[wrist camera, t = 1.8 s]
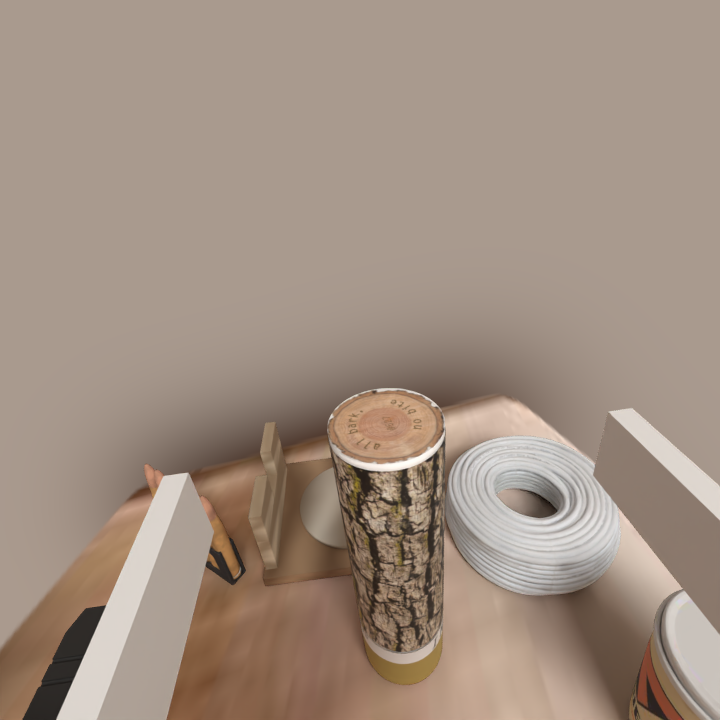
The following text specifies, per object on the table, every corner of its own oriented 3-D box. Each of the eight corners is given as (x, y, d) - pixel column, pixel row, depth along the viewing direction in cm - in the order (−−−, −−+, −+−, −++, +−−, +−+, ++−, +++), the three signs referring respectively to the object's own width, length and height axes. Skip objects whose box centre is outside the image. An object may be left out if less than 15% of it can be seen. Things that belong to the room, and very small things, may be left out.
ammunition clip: (246, 571, 44) (216, 492, 38) (233, 586, 42) (199, 507, 36) (184, 529, 49) (148, 455, 43) (170, 541, 48) (132, 466, 42)
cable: (581, 467, 52) (590, 430, 49) (648, 609, 37) (667, 569, 34) (440, 465, 55) (441, 429, 51) (450, 597, 40) (451, 558, 37)
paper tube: (375, 699, 33) (336, 477, 20) (358, 614, 39) (320, 400, 26) (455, 675, 34) (465, 448, 21) (426, 595, 40) (421, 379, 27)
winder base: (265, 586, 42) (244, 527, 37) (279, 471, 56) (264, 418, 51) (420, 564, 42) (418, 504, 38) (395, 456, 56) (391, 402, 52)
